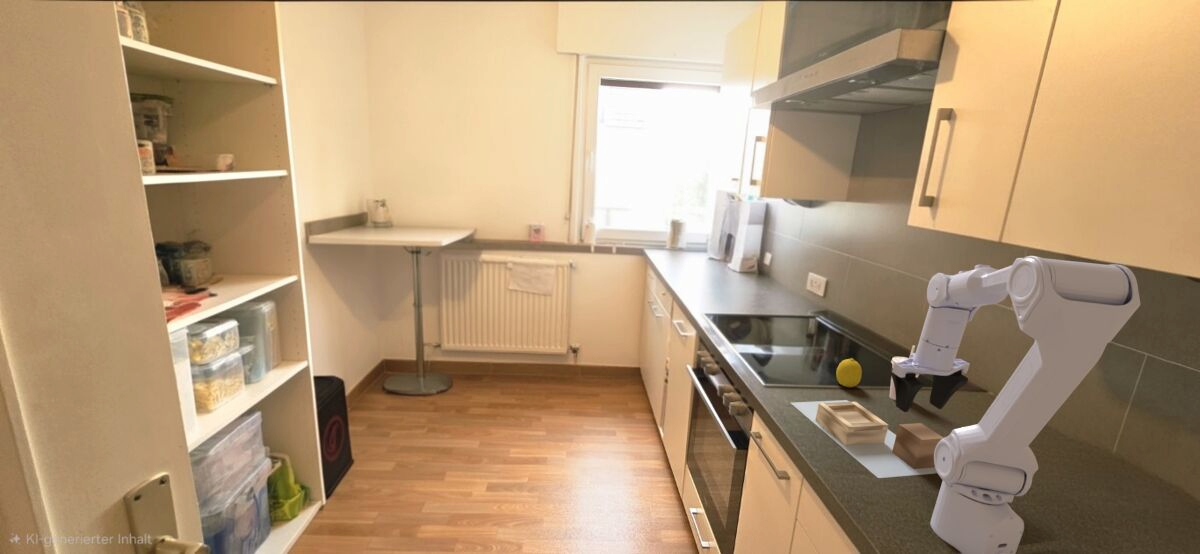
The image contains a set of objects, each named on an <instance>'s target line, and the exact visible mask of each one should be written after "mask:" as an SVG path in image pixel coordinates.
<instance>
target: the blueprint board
mask: <svg viewBox="0 0 1200 554" xmlns="http://www.w3.org/2000/svg"><path fill="white" fill-rule="evenodd" d="M837 402H850V401H849V400H847V399H844V400H821V401H819V400H818V401H817V400H816V401H802V402H801V401H797V402H790V405H792V406H793V407H794V408H796V409H797V410H798V411H799V412H801V414H802V415H803V416H804V417H806V418H807V419H809V421H811V422H812V423H813V424H814V425H815V426H816V427H818V428H819V429H820V430H821V431H822V432H823V433H824V434H826V435H827V436H828V437H830V438H831V440H833V441H834V442H835V443H836V444H837V445H839V446H840V447H841V448H842V449H843V450H845V451H846V452H847V453H848V454H849V455H850V456H852V458H853V459H855V460H856V461H857V462H858V463H860V464H861V465H862V466H863V467H865V468H866V469H867V470H868V471H869V472H870V473H871V474H872V475H874V477H876V478H877V479H887V478H896V477H897V478H898V477H909V476H920V475H923V476H924V475H930V474H931V475H933V474H938V473H937V471H936V468H935V467H932V468H920V469H913V468H912V467H910V466H909V465H908V464H907V463H905V462H904V461H903V460H901V459H900V458H899V457H897V456H896V455H895V454H893V453H892V450H893V446H894V443H895V439H896V435H897V434H896V433H894V432H893V431H891V430H890V429H888V430H887V434H886V438H885V441H884V443H875V444H860V445H846V446H845V445H844V444H843V443H841V442H840V441H839V440H838V439H837V438H836V437H834V436H833V435H832V434H831V433H830V432H828V431H827V430H826V429H825V428H824V427H823V426H821V425H820V424H819V423H818V422H817V421H815V419H816V415H817V410H818V405H819V403H837Z"/></svg>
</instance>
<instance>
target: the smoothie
mask: <svg viewBox="0 0 1200 554" xmlns="http://www.w3.org/2000/svg"><path fill="white" fill-rule="evenodd" d="M915 348H916V345H912V347H911V351H910V354H909V357H905V356H894V357H892V359H891V361H890V363H891V364H892V365H891V366H892V367H891V368H893V366H894V363H897V362H902V361H904V360H907V359H909V358H911V357H910V355H911V353H915ZM919 376H920V374H916V377H917V379H918V378H919ZM889 398H890V399H891V400H893V401H895V402H896V393H895V386H894V382H893V379H892V376H891V377H890V387H889Z"/></svg>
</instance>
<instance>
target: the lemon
mask: <svg viewBox="0 0 1200 554" xmlns="http://www.w3.org/2000/svg"><path fill="white" fill-rule="evenodd" d="M835 372H836V373H835V375H836V380H837V382H838V383H839V384H840V385H841V386H842V387H844V388H853V387H856V386H858V384H859V383H860V382H861V379H862V372H863V371H862V367H861V365H860V363H859V362H858V361H856V360H855V359H854V358H852V357H851V358H848V359H844V360H841V362H839V364H838V366H837V368H836V371H835Z"/></svg>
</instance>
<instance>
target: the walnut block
mask: <svg viewBox="0 0 1200 554" xmlns="http://www.w3.org/2000/svg"><path fill="white" fill-rule="evenodd" d="M895 435H896V439H895V443H894V446H893V450H892V453H893V454H895V455H896V456H897V457H899V458H900V459H901V460H903V461H904V462H905V463H907V464H908V465H909V466H910V467H912V468H913V469H920V468H932V467H935V464H934V451H935V448H936V445H937V444H938V442H940V440H941V439H943V438H944V436H942V435H940V434H938V433H937V432H935V431H934V430H933V429H931V428H929V427H928V426H926V425H925V424H923V423H922V422H918V423H917V422H915V423H901V424H900V423H899V425H898V428H897V431H896V434H895Z"/></svg>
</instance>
